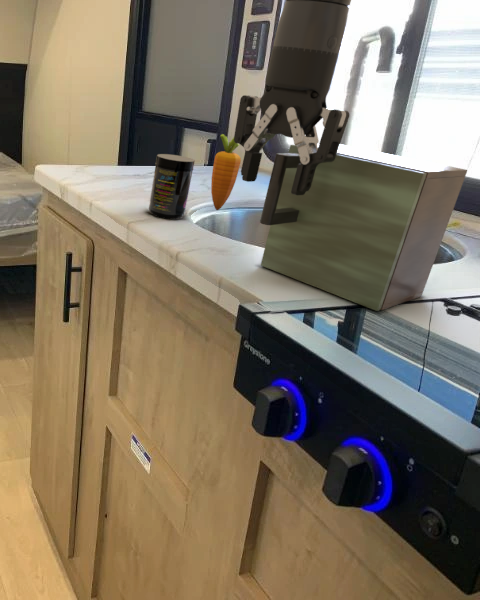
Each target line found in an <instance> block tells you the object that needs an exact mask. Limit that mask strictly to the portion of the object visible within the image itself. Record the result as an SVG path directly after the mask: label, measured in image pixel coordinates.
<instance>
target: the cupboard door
mask: <svg viewBox="0 0 480 600" xmlns="http://www.w3.org/2000/svg"><path fill="white" fill-rule="evenodd" d="M298 164H301V161H300V157H299V152H298V148H297V147H296V146H295V144H290V145H289V149H288V152H277V153H276V154H275V158H274V161H273V164H272V169H271V174H270V178H269V182H268V187H267V191H266V195H265V198H264V202H263V207H262V210H261V211H262V212H261V216H260V219H259V224H262V225H264V226H269V230H268V233H267V238H266V242H265V246H264V250H263V254H262V258H261V262H260V266H261V267H264V268H266V269H269V270H271V271H273V272H276V273H279V274H281V275H284V276H286V277H289V278H292V279H294V280H297V281H299V282H303V284H306V285H309V286H311V287H314V288H316V289H319V290H322V291H325V292H327V293H330V294H332V295H335V296H338V297H340V298H342V299H345V300H347V301H350V302H353V303H355V304H357V305H360V306H363V307H365V308H367V309H370V310H373V311H376V312H379V311H382V310H381V307H382V304H383V301H384V298H385V295H386V292H387V289H388V286H389V284H390V281H391V278H392V275H393V272H394V269H395V266H396V263H397V260H398V257H399V254H400V251H401V248H402V245H403V242H404V239H405V236H406V233H407V231H408V228H409V225H410V222H411V219H412V216H413V213H414V210H415V207H416V204H417V201H418V198H419V195H420V192H421V189H422V186H423V183H424V180H425V178H426V175H427V173H424V172H419V171H414V170H410V169H405V168H400V167H396V166H391V165H386V164H382V163H377V162H372V161H368V160H363V159H358V158H354V157H349V156H344V155H340V154H336V157H335V160H334V161H332V162H325V163H320V164H318V165H317V167H316V170H315V173H314V177H313V181H312V184H311V188H310V189H309V191H306V192H305V194H304V195H294V194H292V193H291V190H292V186H293V182H294V178H295V174H296V170H297V166H298Z"/></svg>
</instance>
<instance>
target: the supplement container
mask: <svg viewBox="0 0 480 600" xmlns="http://www.w3.org/2000/svg"><path fill="white" fill-rule="evenodd" d="M195 161H196V160H195V159H193V158H191V157H187V156H182V155H177V154H169V153H158V154H157V155H156V159H155V167H154V173H153V179H152V184H151V191H150V197H149V203H148V213H149V214H151V215H152V216H154V217H157V218H161V219H164V220H165V219H167V220H179V219H182V218H183V217H184V216H185V214H186V208H187V204H188V203H187V202H188V197H189V193H190V187H191V181H192V177H193V172H194V167H195Z"/></svg>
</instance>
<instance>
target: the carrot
mask: <svg viewBox="0 0 480 600" xmlns="http://www.w3.org/2000/svg"><path fill="white" fill-rule="evenodd" d="M220 139H221V142H222V146H223V149H224V151H222V150H221V151H218V152H217V153H216V154H215V156H214V161H213V166H212V173H211V186H210V187H211V200H212V203H213V207H214V209H215V210H216V211H219V210H221V209H222V207H223V206H224V205H225V204H226V202H227V201H228V199H229V198H230V196H231V193H232V192H233V189H234V186H235V184H236V181H237V177H238V174H239V170H240V167H241V161H242V159H241V156H240V155H239V154H238V153H236V152H234V151H235V150H236V149H237V148H238V147H239V145H240V144H239V143H235V142H234V137H233V138H232V139H231V140H230V141H229V140H228V137H227V136H226V135H225V134H223V133H221V134H220Z"/></svg>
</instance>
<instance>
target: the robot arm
mask: <svg viewBox="0 0 480 600" xmlns="http://www.w3.org/2000/svg"><path fill="white" fill-rule="evenodd" d="M351 3H352V0H285V2H284V6H283V9H282V12H281V14H280V17H279V20H278V24H277V26H276V27H277V28H276V30H275V31H276V32H275V36H274V41H273V45H272V49H271V52H270V53H271V54H270V59H269V62H268V67H267V72H266V76H265V81H264V82H265V90H264V93H263V94H262V96H261V97H259V96H257V95H256V96H255V95H246V94H245V95H242V96H241V97H240V99H239V105H238V111H237V116H236V117H237V118H236V123H235V128H234V135H233V138H234V142H235V143H238V144H239V145H240V146H242V147H243V149H244V155H243V159H242V164H241V169H240V175H241V176H242V177H241V179H242V181H244V182H247V183H249V182H251V183H253V182H255V181H256V180H257V178H258V173H259V171H260V165H261V160H262V157H263V152H261V151H262V149H263V148H264V147H265V146H266V145H267V144H268V142H269V141H270V140H272V139H273V138H274V137H275V136H276V135H281V136H284V137H286V138H292V141H293V145H295V146H296V147H297V148H298V152H299V157H300V161H301V164H298V166H297V170H296V174H295V178H294V182H293V186H292V190H291V193H292V194H294V195H304V194H305V192H306V191H309V189H310V188H311V184H312V181H313V177H314V173H315V170H316V167H317V165H318V164H320V163H325V162H332V161H334V160H335V157H336V154H337V151H338V148H339V145H340V144H341V142H342V139H343V135H344V133H345V130H346V127H347V125H348V121H349V118H350V112H349V111H348V110H345V109H334V108H329V107H328V106H327V97H328V94H329V93H330V90H331V87H332V84H333V80H334V77H335V72H336V70H337V64H338V61H339V57H340V53H341V50H342V46H343V43H344V39H345V34H346V31H347V30H346V29H347V24H348V18H349V17H348V16H349V11H350V6H351ZM259 112H261V114H262V117H261V118H260V120H259V121H258V122H257V117H258V114H259ZM321 120H322V126H323V127H324V128H323V130H322V134H321V137H320V139H319V137H318V131H317V127H316V125H318V123H320V121H321ZM256 123H257V124H256ZM317 144H319V146H318V145H317Z"/></svg>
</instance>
